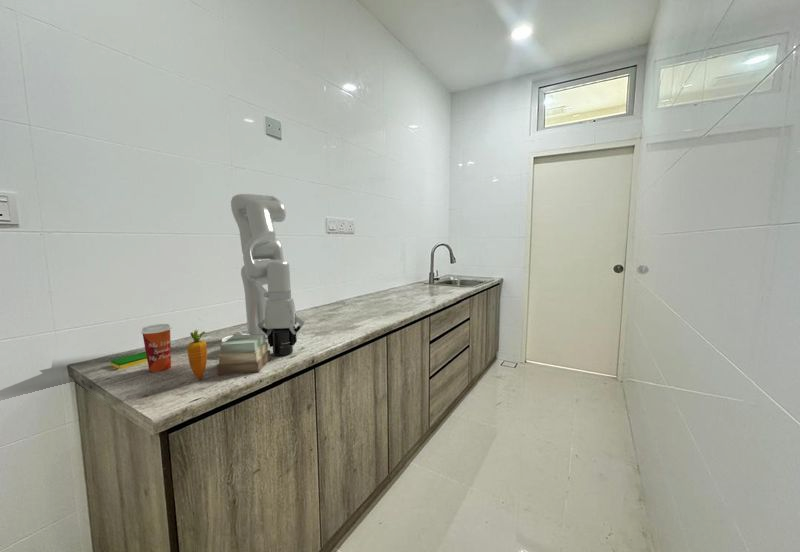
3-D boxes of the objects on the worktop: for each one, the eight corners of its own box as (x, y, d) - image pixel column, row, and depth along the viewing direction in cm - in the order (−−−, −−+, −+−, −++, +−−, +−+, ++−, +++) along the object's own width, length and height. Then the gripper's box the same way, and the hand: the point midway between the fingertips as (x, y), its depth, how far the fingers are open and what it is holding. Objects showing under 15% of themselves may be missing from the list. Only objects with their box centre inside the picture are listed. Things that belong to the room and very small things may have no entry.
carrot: (195, 376, 97) (191, 327, 96) (212, 375, 97) (208, 326, 96) (186, 383, 92) (181, 332, 91) (204, 382, 92) (200, 331, 91)
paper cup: (151, 375, 99) (147, 330, 97) (140, 370, 103) (136, 327, 101) (179, 367, 105) (175, 324, 104) (168, 362, 109) (164, 322, 108)
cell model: (216, 357, 114) (215, 338, 113) (229, 346, 126) (227, 329, 125) (247, 355, 116) (245, 336, 115) (256, 345, 127) (255, 328, 127)
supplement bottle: (286, 357, 112) (284, 323, 111) (269, 356, 114) (266, 322, 112) (296, 350, 119) (295, 318, 118) (280, 349, 120) (278, 318, 119)
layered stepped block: (233, 360, 110) (231, 334, 109) (270, 358, 111) (268, 333, 110) (217, 374, 98) (215, 345, 97) (258, 372, 99) (256, 343, 98)
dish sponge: (110, 367, 108) (110, 360, 108) (158, 354, 120) (158, 348, 119) (119, 371, 104) (118, 363, 104) (168, 357, 116) (167, 351, 116)
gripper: (250, 298, 110) (253, 349, 112) (302, 296, 111) (305, 347, 113) (257, 295, 117) (261, 343, 119) (306, 293, 119) (309, 340, 121)
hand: (282, 344), depth 116 cm, fingers closed on supplement bottle, 6 cm apart
